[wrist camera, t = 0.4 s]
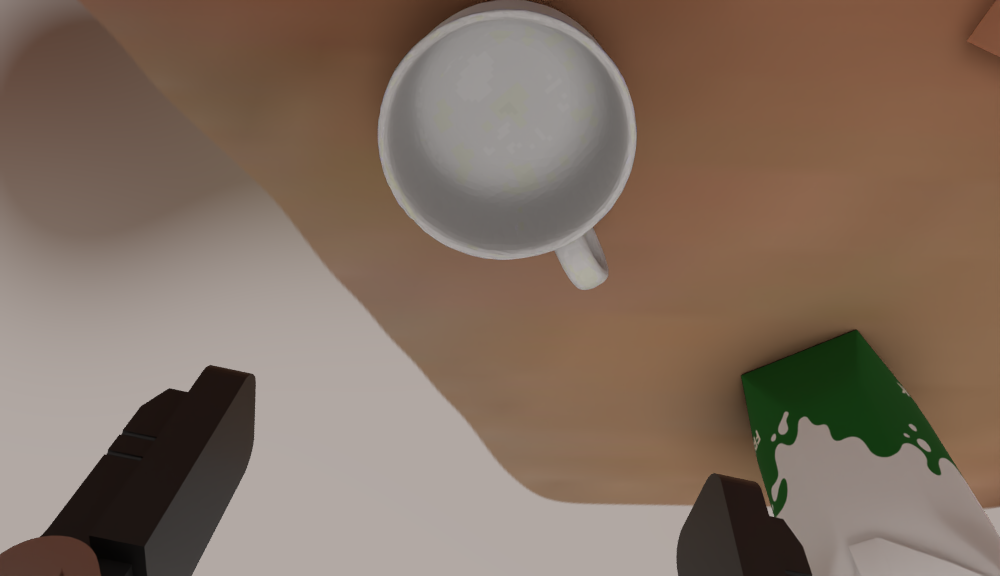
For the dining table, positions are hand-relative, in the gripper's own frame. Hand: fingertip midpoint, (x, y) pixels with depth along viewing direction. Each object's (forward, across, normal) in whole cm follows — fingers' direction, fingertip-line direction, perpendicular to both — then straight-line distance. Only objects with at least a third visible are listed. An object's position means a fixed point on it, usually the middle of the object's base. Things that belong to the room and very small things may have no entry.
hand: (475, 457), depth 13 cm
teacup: (+28, 0, +3) cm, 28 cm away
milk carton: (+28, -21, +16) cm, 38 cm away
